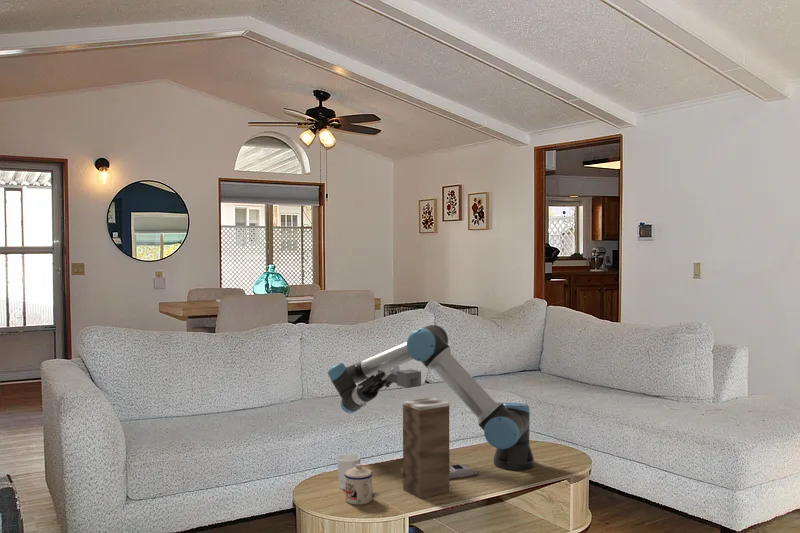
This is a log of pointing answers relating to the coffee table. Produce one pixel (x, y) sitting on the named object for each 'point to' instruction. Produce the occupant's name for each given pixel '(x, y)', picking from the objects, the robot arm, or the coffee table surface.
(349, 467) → the white cup
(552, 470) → the coffee table surface
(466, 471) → the mobile phone
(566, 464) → the coffee table surface
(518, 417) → the robot arm
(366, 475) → the teacup with lid
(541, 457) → the coffee table surface
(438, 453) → the brown wooden tall block
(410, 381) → the gray block
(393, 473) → the coffee table surface
